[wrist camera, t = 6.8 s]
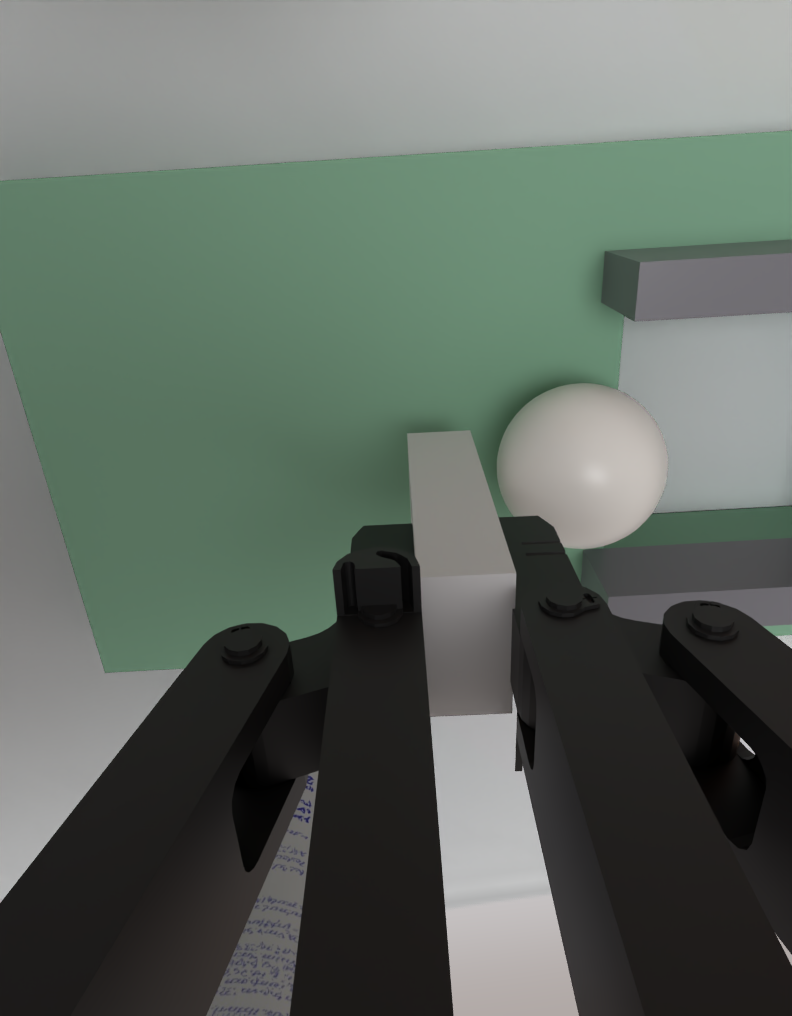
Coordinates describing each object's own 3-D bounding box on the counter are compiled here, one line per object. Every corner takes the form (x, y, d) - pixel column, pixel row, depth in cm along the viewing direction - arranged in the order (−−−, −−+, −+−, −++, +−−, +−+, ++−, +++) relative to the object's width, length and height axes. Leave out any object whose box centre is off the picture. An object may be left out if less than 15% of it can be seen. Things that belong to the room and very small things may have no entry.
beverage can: (189, 755, 26) (-26, 1388, 12) (329, 722, 25) (264, 1349, 12) (245, 851, 28) (116, 1469, 15) (374, 823, 28) (364, 1440, 14)
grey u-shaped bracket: (580, 584, 20) (605, 635, 18) (604, 251, 16) (640, 262, 14) (876, 568, 20) (937, 616, 18) (975, 228, 16) (1071, 235, 14)
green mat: (126, 634, 23) (104, 672, 22) (0, 183, 17) (-45, 183, 15) (829, 595, 23) (867, 630, 21) (953, 122, 17) (1021, 116, 15)
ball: (630, 598, 15) (676, 524, 18) (649, 423, 13) (696, 373, 16) (468, 554, 17) (533, 495, 20) (466, 399, 15) (538, 359, 18)
